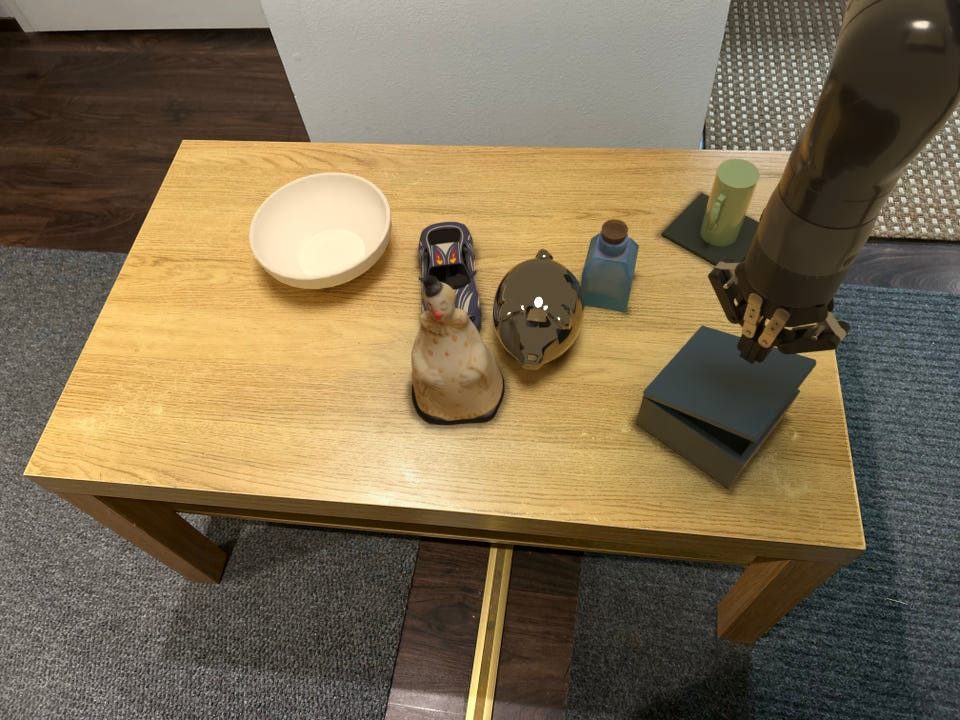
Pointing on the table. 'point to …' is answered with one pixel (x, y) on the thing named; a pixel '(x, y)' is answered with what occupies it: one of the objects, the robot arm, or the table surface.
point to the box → (703, 439)
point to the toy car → (451, 264)
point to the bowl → (321, 230)
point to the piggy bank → (538, 310)
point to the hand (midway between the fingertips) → (750, 354)
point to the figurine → (452, 364)
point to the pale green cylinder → (729, 201)
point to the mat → (689, 237)
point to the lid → (728, 383)
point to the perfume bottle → (609, 267)
